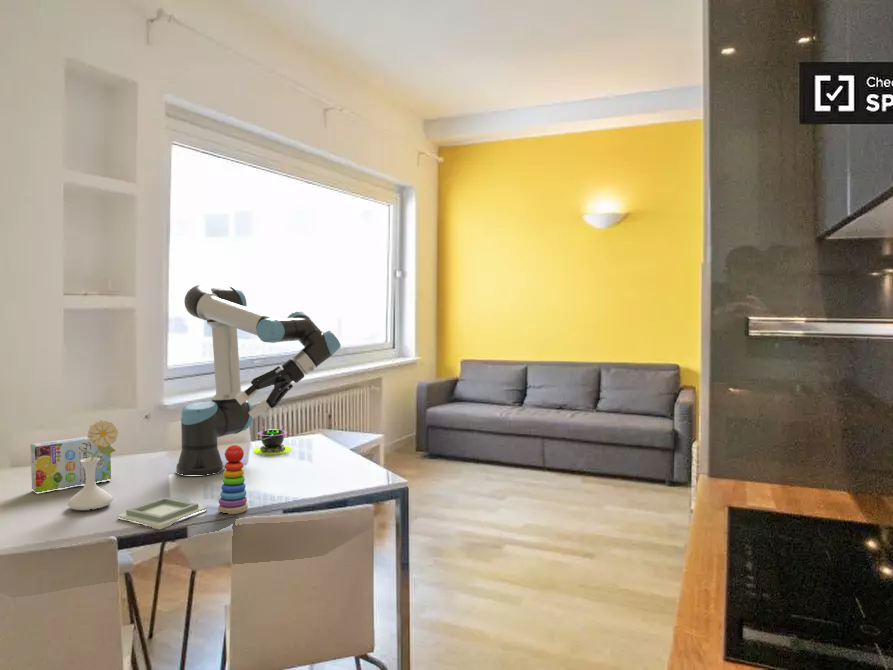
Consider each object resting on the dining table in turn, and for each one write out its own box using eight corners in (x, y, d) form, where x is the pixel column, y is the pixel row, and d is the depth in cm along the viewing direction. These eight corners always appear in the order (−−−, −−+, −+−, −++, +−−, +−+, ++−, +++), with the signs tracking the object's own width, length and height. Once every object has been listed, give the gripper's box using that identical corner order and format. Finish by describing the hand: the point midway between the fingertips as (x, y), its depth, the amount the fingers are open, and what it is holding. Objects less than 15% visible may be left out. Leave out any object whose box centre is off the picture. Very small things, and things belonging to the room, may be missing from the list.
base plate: (117, 519, 175) (117, 510, 175) (166, 503, 190) (165, 495, 190) (159, 529, 168) (159, 520, 168) (206, 511, 183) (206, 503, 183)
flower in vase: (65, 516, 177) (63, 425, 176) (70, 503, 188) (68, 418, 186) (118, 510, 183) (117, 422, 181) (120, 498, 193) (119, 415, 192)
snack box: (105, 478, 214) (105, 433, 213) (111, 482, 210) (110, 436, 209) (31, 491, 199) (30, 442, 198) (35, 495, 195) (34, 446, 194)
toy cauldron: (253, 446, 262) (253, 419, 262) (292, 445, 266) (292, 418, 265) (251, 455, 248) (251, 427, 247) (292, 454, 251) (292, 426, 250)
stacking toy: (238, 516, 179) (238, 449, 178) (212, 514, 181) (212, 447, 180) (252, 507, 187) (252, 443, 186) (227, 505, 188) (227, 441, 187)
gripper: (296, 359, 198) (239, 404, 192) (313, 388, 221) (262, 429, 215) (282, 343, 201) (225, 386, 195) (299, 373, 223) (249, 413, 217)
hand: (244, 409), depth 205 cm, fingers open, 13 cm apart
